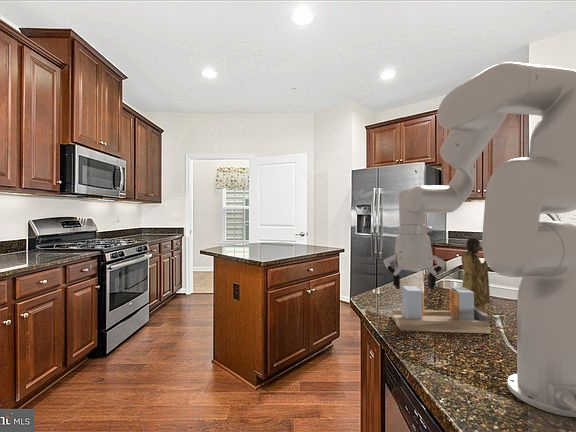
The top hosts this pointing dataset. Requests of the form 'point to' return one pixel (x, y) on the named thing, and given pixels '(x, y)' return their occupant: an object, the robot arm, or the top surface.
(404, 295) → the grey upright block
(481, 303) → the statue
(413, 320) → the jaw rail
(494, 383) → the top surface
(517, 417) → the top surface
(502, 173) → the robot arm
